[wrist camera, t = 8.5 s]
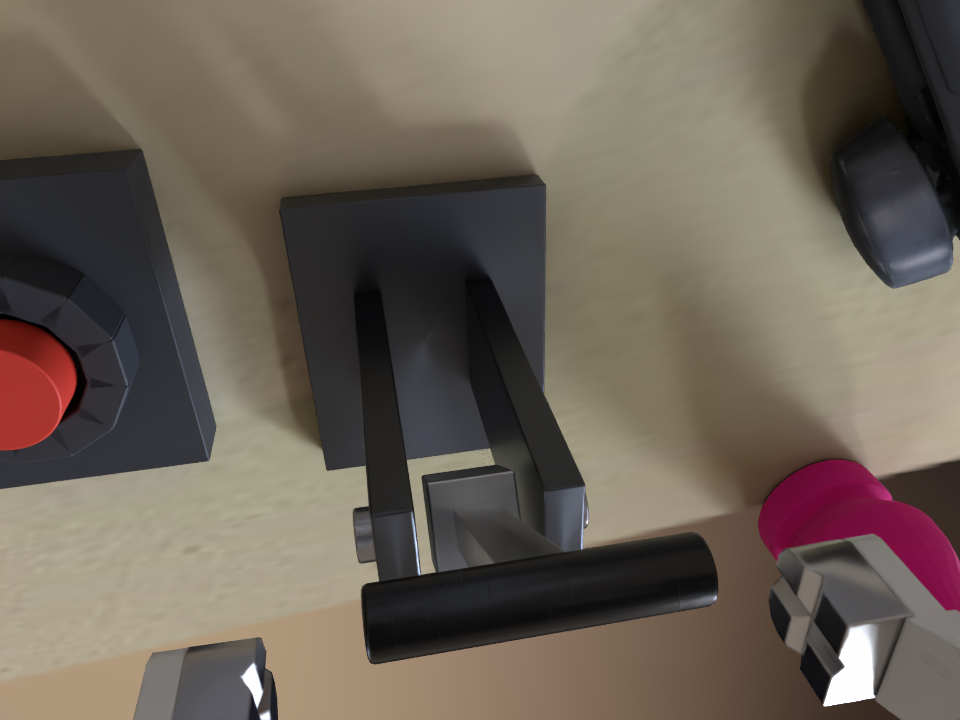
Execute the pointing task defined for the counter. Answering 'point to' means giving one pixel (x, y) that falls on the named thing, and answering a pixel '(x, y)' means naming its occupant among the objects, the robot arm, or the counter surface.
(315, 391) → the bracket
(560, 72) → the counter surface
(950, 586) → the pepper mill
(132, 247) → the control block
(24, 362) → the button
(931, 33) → the can opener
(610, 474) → the counter surface
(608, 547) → the lever
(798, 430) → the counter surface
